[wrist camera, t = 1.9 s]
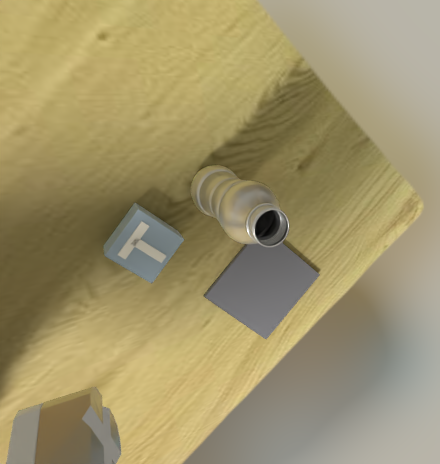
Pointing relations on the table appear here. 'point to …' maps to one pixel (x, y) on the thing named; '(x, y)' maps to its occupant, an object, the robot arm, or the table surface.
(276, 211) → the plastic bottle
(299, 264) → the charcoal mat
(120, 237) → the letter block
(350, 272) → the table surface
